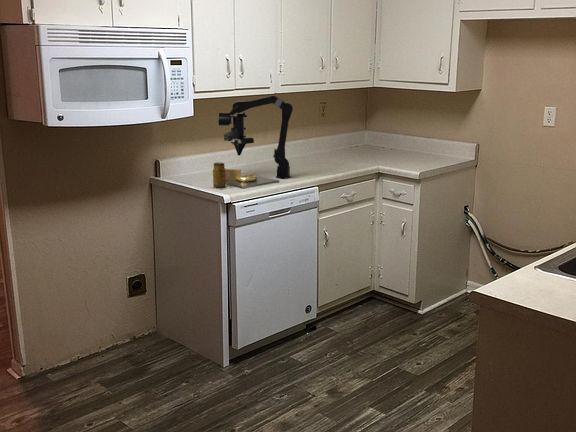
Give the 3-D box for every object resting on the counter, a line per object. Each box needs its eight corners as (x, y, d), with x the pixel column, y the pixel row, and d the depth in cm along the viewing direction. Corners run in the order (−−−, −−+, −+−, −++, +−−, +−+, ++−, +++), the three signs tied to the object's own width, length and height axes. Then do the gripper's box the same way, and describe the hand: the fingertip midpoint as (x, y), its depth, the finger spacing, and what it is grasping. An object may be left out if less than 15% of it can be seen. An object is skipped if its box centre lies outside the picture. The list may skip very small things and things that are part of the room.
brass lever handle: (222, 178, 329) (221, 168, 328) (251, 176, 335) (251, 166, 334) (229, 183, 318) (229, 173, 317) (260, 180, 324) (260, 170, 323)
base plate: (250, 175, 344) (250, 173, 343) (279, 182, 326) (279, 179, 326) (213, 181, 328) (213, 179, 328) (242, 188, 311) (242, 186, 311)
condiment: (220, 185, 320) (219, 161, 317) (231, 187, 314) (231, 163, 311) (209, 187, 314) (208, 163, 311) (220, 189, 309) (219, 165, 306)
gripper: (215, 125, 332) (216, 154, 336) (237, 128, 319) (237, 159, 323) (232, 123, 340) (232, 152, 343) (254, 126, 326) (254, 156, 330)
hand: (239, 155), depth 335 cm, fingers closed
